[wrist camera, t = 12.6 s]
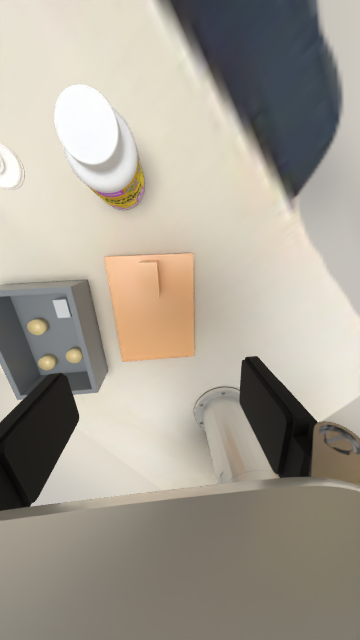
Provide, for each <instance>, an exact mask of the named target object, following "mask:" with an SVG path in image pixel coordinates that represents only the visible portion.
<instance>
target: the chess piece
mask: <svg viewBox="0 0 360 640" xmlns="http://www.w3.org/2000/svg"><path fill="white" fill-rule="evenodd" d="M23 181H24V168H23V165H22V163H21V161H20V159H19V158H18V156H17V155H16V154H15V153H14V152H13V151H12V150H11V149H9V148H8V147H6V146H4V145H1V144H0V188H2V189H5V190H15V189H17V188H19V187H20V186H21V185H22V183H23Z"/></svg>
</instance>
